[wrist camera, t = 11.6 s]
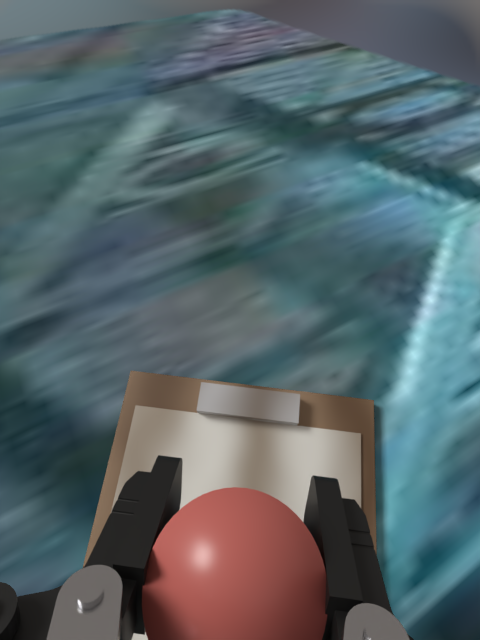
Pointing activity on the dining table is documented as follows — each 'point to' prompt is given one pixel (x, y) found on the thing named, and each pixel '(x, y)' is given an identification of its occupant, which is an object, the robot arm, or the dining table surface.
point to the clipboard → (241, 442)
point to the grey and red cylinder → (235, 572)
